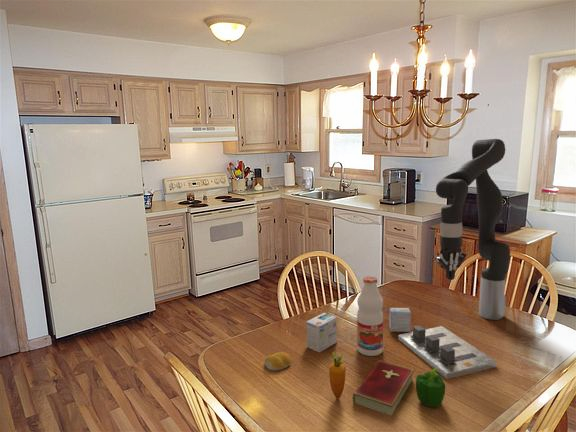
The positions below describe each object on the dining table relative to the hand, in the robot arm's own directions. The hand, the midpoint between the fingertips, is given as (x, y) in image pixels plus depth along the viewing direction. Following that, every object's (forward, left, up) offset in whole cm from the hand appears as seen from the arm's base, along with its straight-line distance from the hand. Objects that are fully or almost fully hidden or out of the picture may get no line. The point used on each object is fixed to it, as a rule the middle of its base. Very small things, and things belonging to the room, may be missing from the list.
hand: (450, 279), depth 152 cm
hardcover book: (+38, +19, -26) cm, 50 cm away
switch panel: (+7, +7, -25) cm, 27 cm away
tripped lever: (+12, +14, -22) cm, 29 cm away
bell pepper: (+29, +29, -25) cm, 48 cm away
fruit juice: (+31, -4, -25) cm, 40 cm away
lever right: (+12, -1, -22) cm, 25 cm away
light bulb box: (+46, -14, -25) cm, 54 cm away
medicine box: (+12, -14, -25) cm, 31 cm away
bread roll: (+65, -7, -25) cm, 71 cm away
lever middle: (+12, +6, -22) cm, 26 cm away
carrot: (+54, +18, -25) cm, 62 cm away
